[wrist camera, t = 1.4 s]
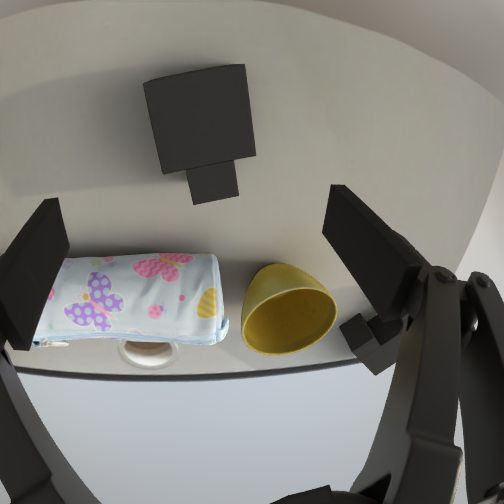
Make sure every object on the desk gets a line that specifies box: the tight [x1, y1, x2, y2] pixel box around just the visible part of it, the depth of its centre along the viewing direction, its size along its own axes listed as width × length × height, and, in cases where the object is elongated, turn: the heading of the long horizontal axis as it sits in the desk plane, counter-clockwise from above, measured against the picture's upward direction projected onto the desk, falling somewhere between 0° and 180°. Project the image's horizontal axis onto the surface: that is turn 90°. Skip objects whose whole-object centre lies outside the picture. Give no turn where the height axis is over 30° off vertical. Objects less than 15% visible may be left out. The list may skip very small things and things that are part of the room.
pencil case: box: [32, 253, 229, 348], centre depth 28 cm, size 21×9×10 cm, turn 86°
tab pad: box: [143, 64, 256, 205], centre depth 23 cm, size 7×10×5 cm
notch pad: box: [339, 308, 408, 375], centre depth 44 cm, size 12×12×5 cm
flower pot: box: [241, 263, 338, 355], centre depth 34 cm, size 10×10×7 cm
